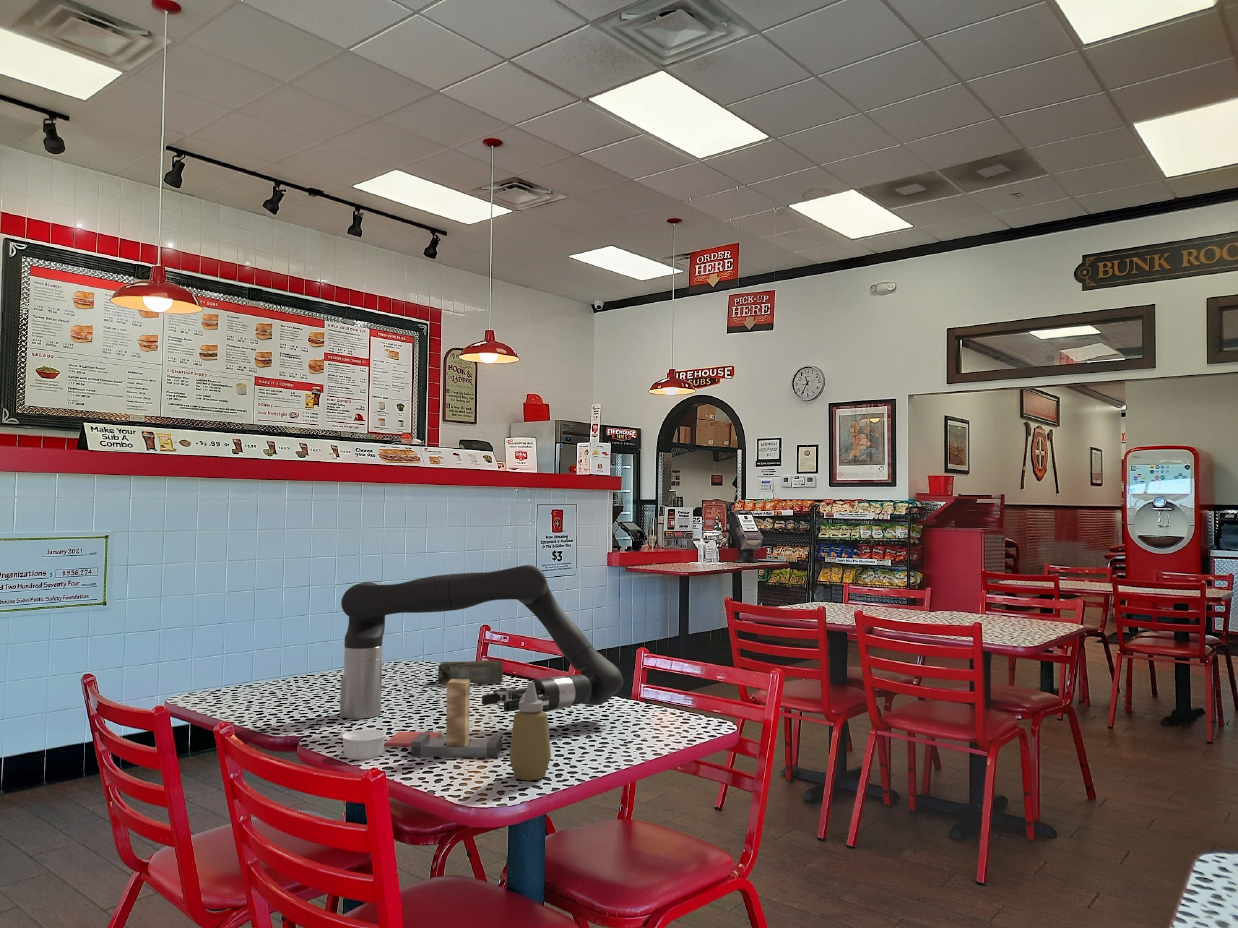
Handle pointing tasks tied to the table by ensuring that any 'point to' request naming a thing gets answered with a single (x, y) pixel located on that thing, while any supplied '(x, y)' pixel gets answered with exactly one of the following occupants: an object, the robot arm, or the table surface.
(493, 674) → the beverage carton
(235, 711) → the table surface
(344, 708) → the robot arm
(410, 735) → the red coaster
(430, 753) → the grey piece
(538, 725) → the squeeze bottle
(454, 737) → the oak peg
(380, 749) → the ramekin
